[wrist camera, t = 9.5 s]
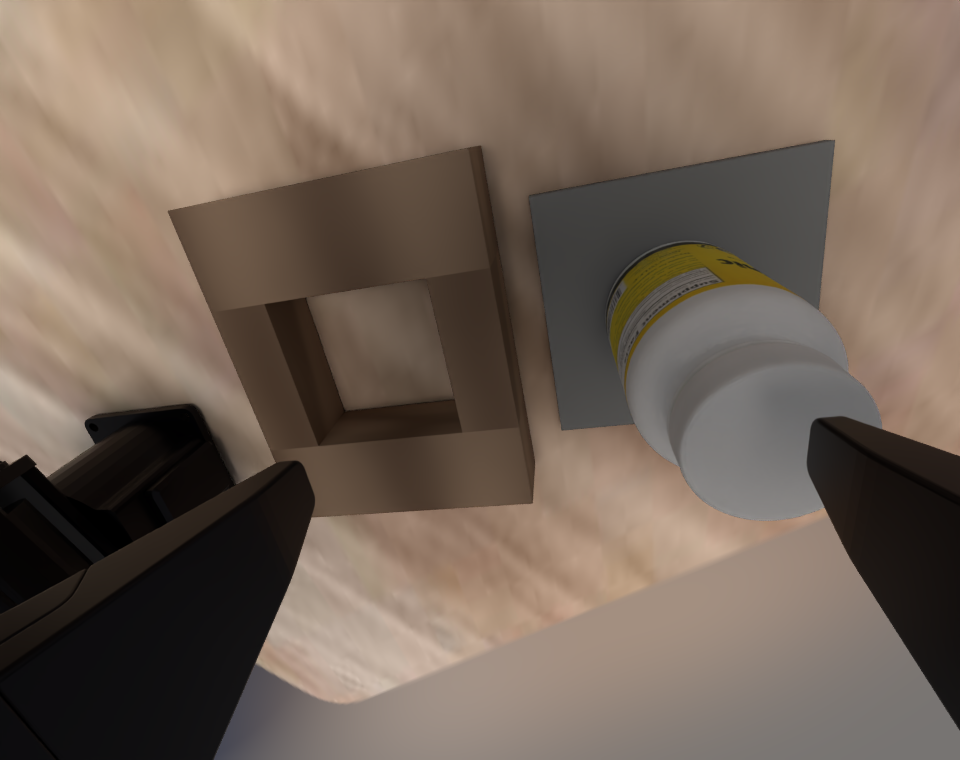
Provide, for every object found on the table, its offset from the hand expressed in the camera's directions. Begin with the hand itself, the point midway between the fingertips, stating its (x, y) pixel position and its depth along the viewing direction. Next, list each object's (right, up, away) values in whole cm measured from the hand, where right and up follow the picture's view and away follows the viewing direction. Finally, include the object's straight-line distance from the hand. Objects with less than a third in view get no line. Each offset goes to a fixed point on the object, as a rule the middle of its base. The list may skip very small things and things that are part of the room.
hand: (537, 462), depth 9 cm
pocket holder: (-5, +3, +13) cm, 15 cm away
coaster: (+7, +5, +11) cm, 14 cm away
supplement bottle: (+7, +4, +11) cm, 13 cm away
